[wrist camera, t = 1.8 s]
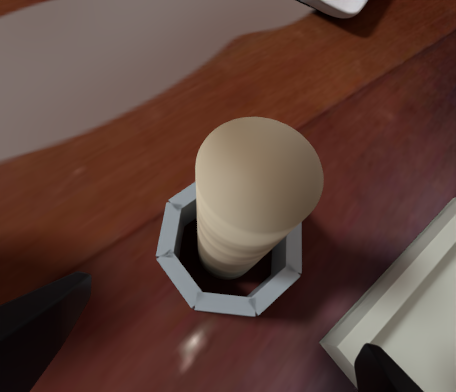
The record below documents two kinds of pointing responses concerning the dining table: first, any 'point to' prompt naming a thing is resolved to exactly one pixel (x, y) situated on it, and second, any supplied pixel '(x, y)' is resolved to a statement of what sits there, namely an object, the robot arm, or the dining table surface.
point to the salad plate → (336, 7)
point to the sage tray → (409, 311)
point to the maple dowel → (251, 192)
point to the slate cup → (219, 303)
